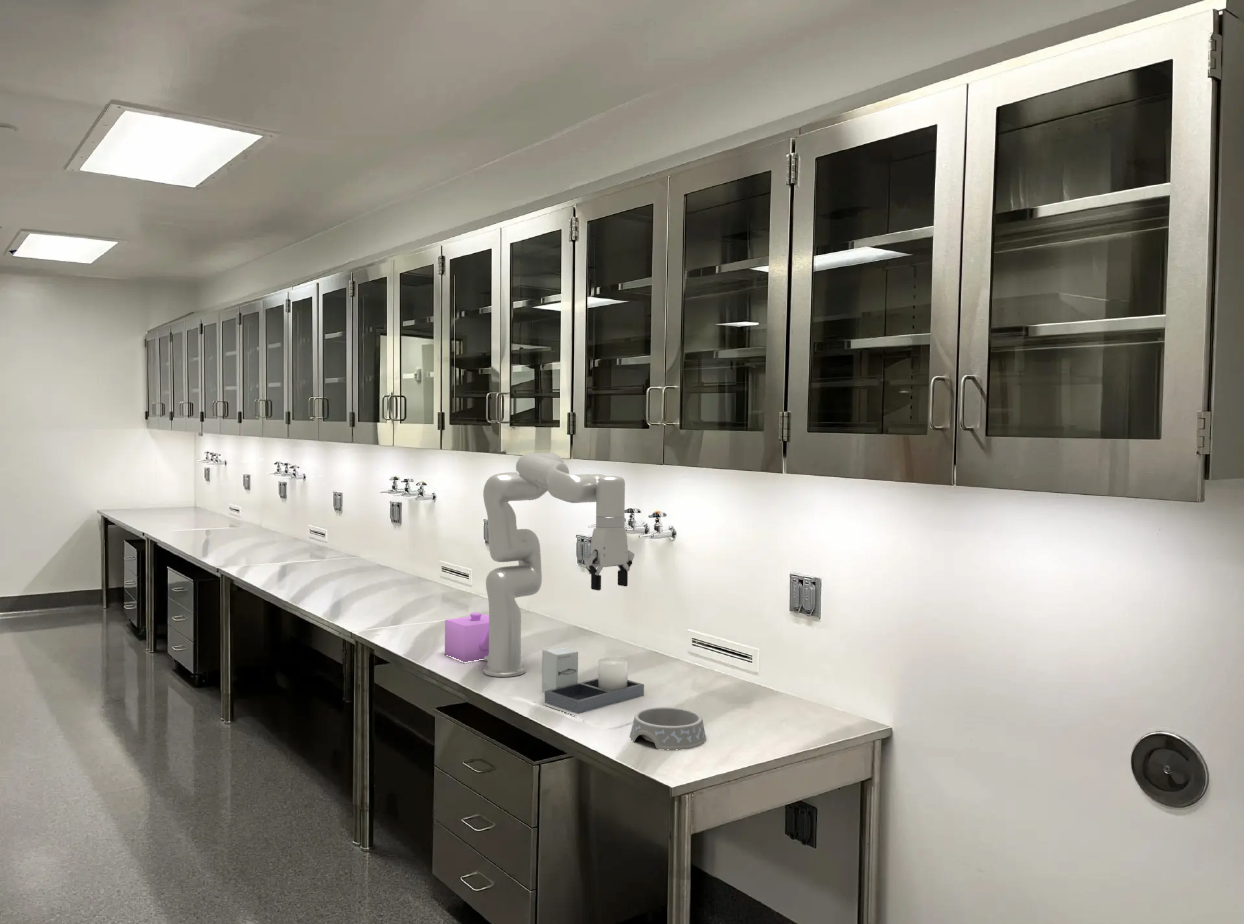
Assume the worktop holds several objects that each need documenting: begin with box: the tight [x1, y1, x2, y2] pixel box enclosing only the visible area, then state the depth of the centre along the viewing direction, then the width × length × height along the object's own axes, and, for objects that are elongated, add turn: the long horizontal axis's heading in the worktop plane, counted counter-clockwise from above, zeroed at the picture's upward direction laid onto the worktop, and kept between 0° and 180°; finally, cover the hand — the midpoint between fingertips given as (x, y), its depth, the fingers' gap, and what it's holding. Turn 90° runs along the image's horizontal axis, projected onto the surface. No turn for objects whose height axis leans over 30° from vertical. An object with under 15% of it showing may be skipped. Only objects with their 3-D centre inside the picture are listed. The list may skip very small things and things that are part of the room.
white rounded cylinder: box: [597, 657, 629, 692], centre depth 247 cm, size 8×8×9 cm
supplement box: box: [541, 646, 579, 694], centre depth 248 cm, size 7×7×13 cm
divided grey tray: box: [544, 677, 645, 717], centre depth 242 cm, size 13×24×4 cm, turn 135°
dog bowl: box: [629, 706, 707, 751], centre depth 215 cm, size 17×18×5 cm
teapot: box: [444, 611, 489, 662], centre depth 290 cm, size 15×25×14 cm, turn 39°
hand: (609, 587), depth 239 cm, fingers open, 9 cm apart
